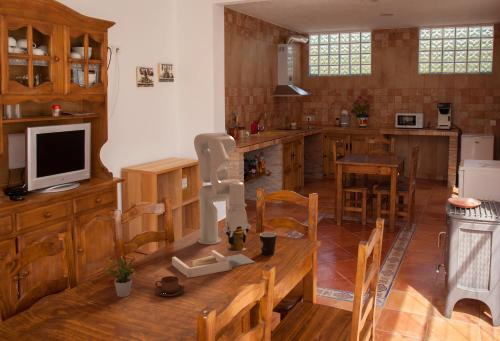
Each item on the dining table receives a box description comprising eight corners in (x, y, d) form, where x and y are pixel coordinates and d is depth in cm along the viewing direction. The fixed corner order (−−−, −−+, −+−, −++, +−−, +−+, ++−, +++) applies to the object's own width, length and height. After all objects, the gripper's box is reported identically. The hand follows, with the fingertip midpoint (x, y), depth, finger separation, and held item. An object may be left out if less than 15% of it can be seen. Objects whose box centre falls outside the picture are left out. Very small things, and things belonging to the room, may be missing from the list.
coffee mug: (276, 256, 273) (276, 236, 271) (259, 256, 273) (259, 236, 271) (276, 249, 284) (276, 230, 283) (259, 249, 284) (259, 230, 283)
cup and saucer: (157, 300, 218) (156, 285, 217) (154, 289, 229) (153, 275, 228) (186, 296, 221) (186, 282, 220) (182, 286, 232) (181, 272, 231)
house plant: (128, 284, 235) (127, 248, 232) (149, 292, 226) (148, 254, 223) (100, 294, 224) (98, 256, 221) (121, 302, 215) (119, 263, 212)
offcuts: (189, 272, 250) (189, 261, 250) (213, 265, 260) (213, 254, 259) (195, 274, 247) (195, 263, 246) (219, 267, 256) (219, 256, 255)
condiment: (247, 249, 264) (246, 225, 262) (234, 252, 258) (233, 228, 257) (237, 246, 269) (237, 222, 268) (224, 249, 264) (223, 225, 262)
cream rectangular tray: (172, 265, 260) (172, 257, 259) (214, 257, 270) (213, 250, 270) (188, 277, 242) (188, 269, 242) (232, 269, 253) (232, 261, 252)
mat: (220, 258, 269) (220, 257, 269) (241, 255, 274) (241, 253, 274) (232, 266, 257) (232, 265, 256) (254, 262, 262) (254, 261, 262)
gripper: (248, 203, 269) (248, 239, 271) (217, 207, 260) (217, 244, 263) (256, 206, 262) (256, 242, 265) (224, 210, 254) (224, 247, 257)
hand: (237, 242), depth 264 cm, fingers closed on condiment, 6 cm apart
